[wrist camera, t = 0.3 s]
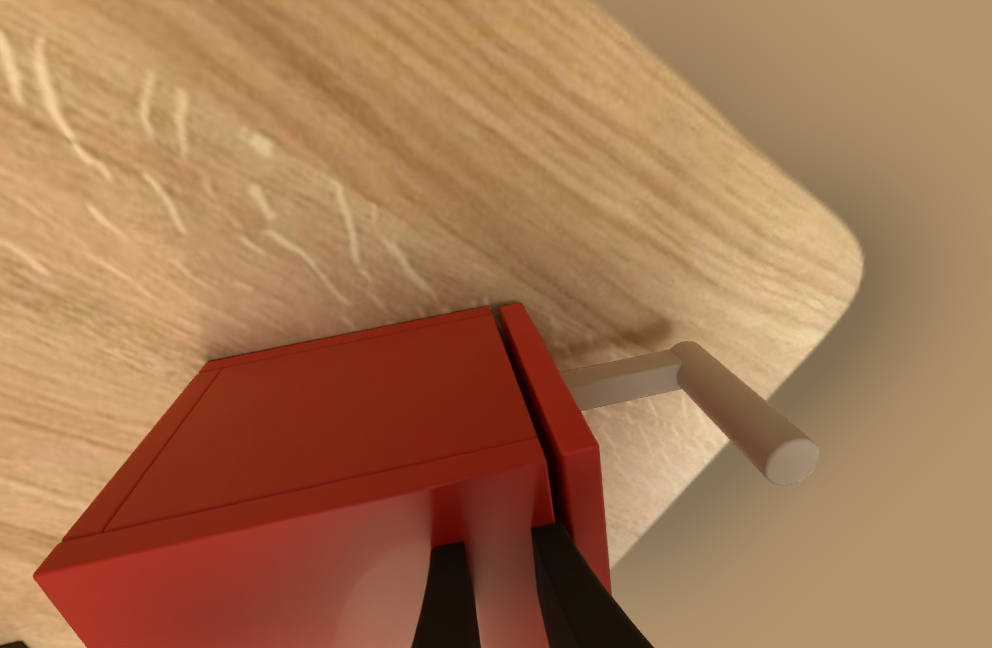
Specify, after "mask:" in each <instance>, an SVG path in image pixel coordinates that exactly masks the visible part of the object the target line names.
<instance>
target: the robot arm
mask: <svg viewBox="0 0 992 648" xmlns="http://www.w3.org/2000/svg"><path fill="white" fill-rule="evenodd" d="M531 536H532V546H533V556H534V566H535V575H536V585H537V595H538V599H539V604H540V608H541V613H542V617H543V622H544V626H545V630H546V635H547V639H548V643H549V647H550V648H654V647H653V646H652V645H651V644H650V643H649V641H648V640H647V639H646V638H645V637H644V636H643V634H642V633H641V632H640V631H639V630H638V629H637V627H636V626H635V625H634V624H633V623H632V621H631V620H630V619H629V618H628V616H627V615H626V614H625V613H624V611H623V610H622V609H621V607H620V606H619V605H618V604H617V602H616V601H615V600H614V599H613V597H612V596H611V595H610V593H609V592H608V591H607V590H606V588H605V587H604V586H603V584H602V583H601V582H600V580H599V579H598V577H597V576H596V575H595V573H594V572H593V570H592V569H591V568H590V566H589V565H588V563H587V562H586V560H585V559H584V557H583V556H582V554H581V553H580V551H579V550H578V548H577V547H576V545H575V544H574V542H573V540H572V539H571V537H570V535H569V534H568V532H567V530H566V528H565V527H564V525H562V524H561V523H559V522H557V523H553V524H548V525H543V526H537V527H532V528H531ZM411 648H481V642H480V635H479V627H478V620H477V613H476V606H475V600H474V594H473V589H472V583H471V578H470V572H469V566H468V561H467V555H466V549H465V544H464V541H461V542H456V543H451V544H446V545H441V546H436V547H434V549H433V550H432V551H431V552H430V564H429V571H428V577H427V583H426V589H425V594H424V598H423V603H422V607H421V612H420V616H419V620H418V624H417V627H416V631H415V635H414V639H413V643H412V646H411Z"/></svg>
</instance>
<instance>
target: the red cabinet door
mask: <svg viewBox="0 0 992 648" xmlns="http://www.w3.org/2000/svg"><path fill="white" fill-rule="evenodd" d="M500 313H501V319H502V325H503V331H504V337H505V343H506V349H507V355H508V358H509V360H510V363H511V366H512V368H513V371H514V374H515V377H516V379H517V382H518V385H519V387H520V390H521V393H522V396H523V398H524V401H525V404H526V406H527V409H528V412H529V414H530V417H531V420H532V423H533V425H534V428H535V431H536V433H537V436H538V440H539V441H540V444H541V447H542V450H543V452H544V455H545V458H546V460H547V467H548V474H549V481H550V488H551V495H552V502H553V509H554V516H555V523H557V522H559V523H561V524H562V525H564V527H565V528H566V530H567V532H568V534H569V535H570V537H571V539H572V540H573V542H574V544H575V545H576V547H577V548H578V550H579V551H580V553H581V554H582V556H583V557H584V559H585V560H586V562H587V563H588V565H589V566H590V568H591V569H592V570H593V572H594V573H595V575H596V576H597V577H598V579H599V580H600V582H601V583H602V584H603V586H604V587H605V588H606V590H607V591H608V592H609V593H610V595H611V596H612V593H611V581H610V569H609V557H608V545H607V534H606V522H605V510H604V498H603V486H602V474H601V462H600V451H599V445H598V443H597V441H596V439H595V437H594V436H593V434H592V432H591V430H590V428H589V426H588V424H587V423H586V421H585V419H584V417H583V415H582V413H581V411H582V410H587V409H591V408H596V407H601V406H605V405H610V404H614V403H619V402H624V401H628V400H633V399H637V398H642V397H647V396H651V395H656V394H660V393H665V392H670V391H674V390H679V389H683V390H684V391H685V393H686V394H687V395H688V396H689V397H690V398H691V399H692V400H693V401H694V402H695V403H696V404H697V405H698V406H699V407H700V408H701V409H702V411H703V412H704V413H705V414H706V415H707V416H708V417H709V418H710V419H711V420H712V421H713V422H714V423H715V424H716V425H717V426H718V427H719V429H720V430H721V431H722V432H723V433H724V434H725V435H726V436H727V437H728V438H729V439H730V440H731V441H732V442H733V443H734V444H735V445H736V447H738V449H739V450H740V451H741V452H742V453H743V454H744V455H745V456H746V457H747V458H748V459H749V460H750V461H751V462H752V464H754V466H755V467H756V468H757V469H758V470H759V471H760V472H761V473H762V474H763V475H764V476H765V477H766V478H767V479H768V480H769V481H770V482H772V483H774V484H776V485H781V486H787V485H792V484H795V483H797V482H799V481H801V480H803V479H804V478H806V477H807V476H808V475H809V474H810V473H811V472H812V471H813V470H814V469H815V467H816V465H817V463H818V460H819V455H820V454H819V449H818V447H817V445H816V443H815V442H814V441H813V440H811V439H810V438H809V437H808V436H807V435H806V434H804V433H803V432H802V431H801V430H800V429H798V428H797V427H796V426H795V425H794V424H792V423H791V422H790V421H789V420H788V419H787V418H785V417H784V416H783V415H782V414H781V413H779V412H778V411H777V410H776V409H775V408H773V407H772V406H771V405H770V404H769V403H767V402H766V401H765V400H764V399H763V398H762V397H760V396H759V395H758V394H757V393H756V392H754V391H753V390H752V389H751V388H750V387H748V386H747V385H746V384H745V383H744V382H743V381H741V380H740V379H739V378H738V377H737V376H735V375H734V374H733V373H732V372H731V371H729V370H728V369H727V368H726V367H725V366H724V365H722V364H721V363H720V362H719V361H718V360H716V359H715V358H714V357H713V356H712V355H710V354H709V353H708V352H707V351H706V350H704V349H703V348H702V347H701V346H700V345H699V344H697V343H695V342H691V341H684V342H680V343H678V344H676V345H674V346H673V347H672V348H671V349H670V350H665V351H661V352H656V353H651V354H646V355H642V356H637V357H632V358H628V359H623V360H618V361H613V362H609V363H604V364H599V365H594V366H590V367H585V368H580V369H575V370H571V371H566V372H561V373H559V371H558V369H557V367H556V365H555V363H554V362H553V360H552V358H551V356H550V354H549V352H548V350H547V349H546V347H545V345H544V343H543V341H542V339H541V337H540V336H539V334H538V332H537V330H536V328H535V326H534V324H533V323H532V321H531V319H530V317H529V315H528V313H527V312H526V310H525V308H524V306H523V304H522V303H518V304H513V305H508V306H503V307H501V308H500Z"/></svg>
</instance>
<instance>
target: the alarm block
mask: <svg viewBox="0 0 992 648" xmlns="http://www.w3.org/2000/svg"><path fill="white" fill-rule="evenodd" d="M0 648H25V647H24V645H23V644H22V643H16V644H12V645H7V646H3V647H0Z"/></svg>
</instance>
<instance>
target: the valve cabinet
mask: <svg viewBox="0 0 992 648" xmlns="http://www.w3.org/2000/svg"><path fill="white" fill-rule="evenodd" d="M553 523H555V516H554V509H553V502H552V495H551V488H550V481H549V474H548V467H547V460H546V458H545V455H544V452H543V450H542V447H541V444H540V441H539V440H538V436H537V433H536V431H535V428H534V425H533V423H532V420H531V417H530V414H529V412H528V409H527V406H526V404H525V401H524V398H523V396H522V393H521V390H520V387H519V385H518V382H517V379H516V377H515V374H514V371H513V368H512V366H511V363H510V360H509V358H508V355H507V352H506V350H505V347H504V344H503V341H502V339H501V336H500V333H499V331H498V328H497V325H496V322H495V320H494V317H493V315H492V312H491V309H490V307H489V306H486V307H481V308H476V309H471V310H466V311H461V312H456V313H451V314H446V315H441V316H436V317H431V318H426V319H421V320H416V321H411V322H406V323H401V324H396V325H391V326H386V327H381V328H376V329H371V330H366V331H361V332H356V333H351V334H346V335H341V336H336V337H331V338H326V339H321V340H316V341H311V342H306V343H301V344H296V345H291V346H286V347H281V348H276V349H271V350H266V351H261V352H256V353H251V354H246V355H241V356H236V357H231V358H226V359H221V360H216V361H211V362H207V363H206V364H205V365H204V366H203V368H202V369H201V370H200V371H199V374H197V375H196V376H195V377H194V378H193V380H192V381H191V382H190V383H189V385H188V386H187V387H186V388H185V389H184V391H183V392H182V393H181V394H180V396H179V397H178V398H177V399H176V400H175V402H174V403H173V404H172V405H171V407H170V408H169V409H168V410H167V411H166V413H165V414H164V415H163V416H162V418H161V419H160V420H159V421H158V422H157V424H156V425H155V426H154V427H153V429H152V430H151V431H150V432H149V433H148V435H147V436H146V437H145V438H144V440H143V441H142V442H141V443H140V445H139V446H138V447H137V448H136V449H135V451H134V452H133V453H132V454H131V456H130V457H129V458H128V459H127V460H126V462H125V463H124V464H123V465H122V467H121V468H120V469H119V470H118V471H117V473H116V474H115V475H114V476H113V478H112V479H111V480H110V481H109V482H108V484H107V485H106V486H105V487H104V489H103V490H102V491H101V492H100V493H99V495H98V496H97V497H96V498H95V500H94V501H93V502H92V503H91V504H90V506H89V507H88V508H87V509H86V511H85V512H84V513H83V514H82V515H81V517H80V518H79V519H78V520H77V522H76V523H75V524H74V525H73V526H72V528H71V529H70V530H69V531H68V533H67V534H66V535H65V536H64V537H63V539H62V542H61V543H59V544H58V545H57V546H56V547H55V548H54V549H53V550H52V552H51V553H50V554H49V555H48V557H47V558H46V559H45V560H44V561H43V563H42V564H41V565H40V566H39V568H38V569H37V570H36V571H35V572H34V574H33V578H34V580H35V581H36V582H37V583H38V585H39V586H40V587H41V589H42V590H43V591H44V593H45V594H46V595H47V596H48V598H49V599H50V600H51V602H52V603H53V604H54V605H55V607H56V608H57V609H58V611H59V612H60V613H61V615H62V616H63V617H64V618H65V620H66V621H67V622H68V624H69V625H70V626H71V628H72V629H73V630H74V631H75V633H76V634H77V635H78V637H79V638H80V639H81V640H82V642H83V643H84V644H85V646H86V647H87V648H411V646H412V643H413V639H414V635H415V631H416V627H417V624H418V620H419V616H420V612H421V607H422V603H423V598H424V594H425V589H426V583H427V577H428V571H429V564H430V552H431V551H432V550H433V549H434V547H436V546H441V545H446V544H451V543H456V542H461V541H464V544H465V549H466V555H467V561H468V566H469V572H470V578H471V583H472V589H473V594H474V600H475V606H476V613H477V620H478V627H479V635H480V642H481V648H550V647H549V643H548V639H547V635H546V630H545V626H544V622H543V617H542V613H541V608H540V604H539V599H538V595H537V585H536V575H535V566H534V556H533V546H532V536H531V528H532V527H537V526H543V525H548V524H553Z"/></svg>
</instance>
